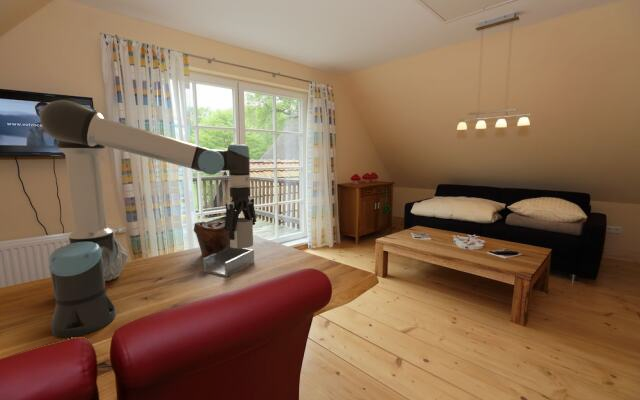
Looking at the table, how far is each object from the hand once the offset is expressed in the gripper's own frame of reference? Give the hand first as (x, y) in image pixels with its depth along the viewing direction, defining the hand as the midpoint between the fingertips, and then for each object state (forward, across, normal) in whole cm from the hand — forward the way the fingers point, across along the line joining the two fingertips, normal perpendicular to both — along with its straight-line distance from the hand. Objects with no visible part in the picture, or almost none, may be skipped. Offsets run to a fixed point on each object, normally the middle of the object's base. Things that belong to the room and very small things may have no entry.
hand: (241, 244), depth 116 cm
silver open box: (+15, +9, +14) cm, 22 cm away
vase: (+16, -22, +51) cm, 57 cm away
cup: (+1, 0, 0) cm, 1 cm away
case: (+15, +18, +32) cm, 40 cm away
